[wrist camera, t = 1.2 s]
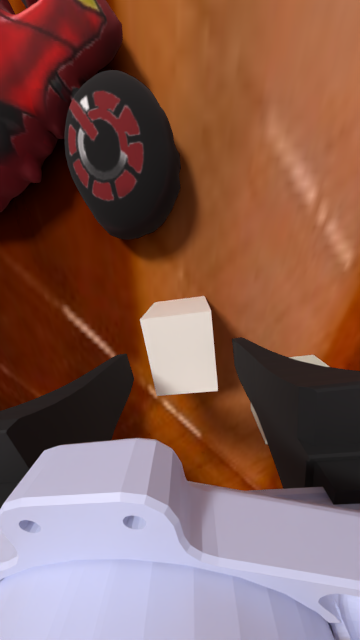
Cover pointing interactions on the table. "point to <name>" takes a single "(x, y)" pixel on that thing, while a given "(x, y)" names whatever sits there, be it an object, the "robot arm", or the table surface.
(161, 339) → the cream brick
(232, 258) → the table surface
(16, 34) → the toy motorcycle
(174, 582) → the robot arm
